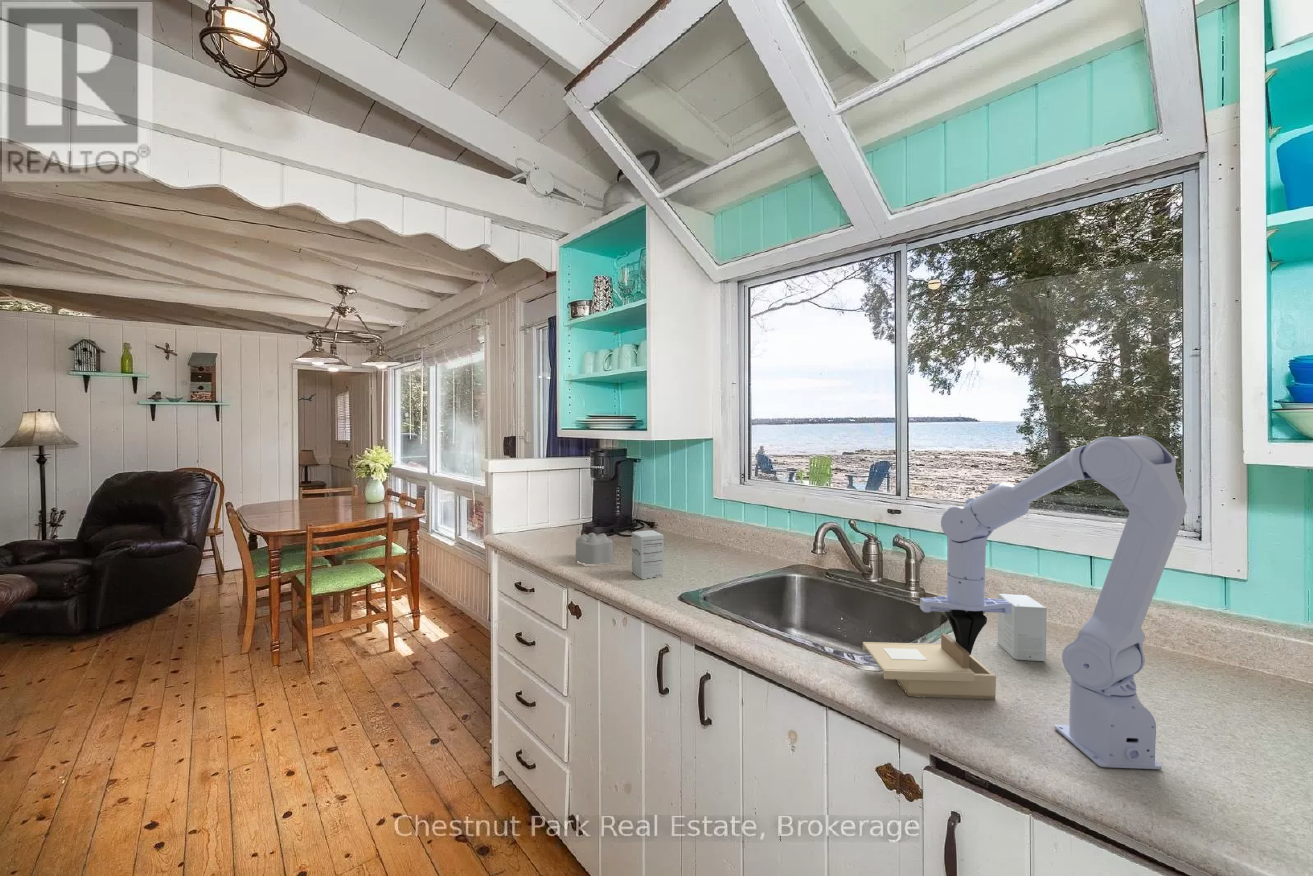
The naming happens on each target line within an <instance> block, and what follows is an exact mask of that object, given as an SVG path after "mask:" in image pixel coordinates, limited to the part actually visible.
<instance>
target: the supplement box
mask: <svg viewBox="0 0 1313 876" xmlns="http://www.w3.org/2000/svg"><path fill="white" fill-rule="evenodd" d="M632 572H633V573H634V574H635V575H634V574H633V575H634V576H636V575H637V576H638V577H637V576H636V577H637V578H639V577H640V578H641V579H644V578H650V577H659V578H662V577H664V534H662V533H660V532H657V531H656V530H653V529H648V530H639V531H632V532H631V573H632ZM640 578H639V579H640ZM641 579H640V580H641ZM644 580H645V579H644Z"/></svg>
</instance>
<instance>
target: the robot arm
mask: <svg viewBox="0 0 1313 876" xmlns="http://www.w3.org/2000/svg"><path fill="white" fill-rule="evenodd" d="M1176 462H1177V460H1176V457H1175V456H1173V454H1172V453H1170V452H1169V450H1168V449H1167V448H1166V447H1165V446H1163V445H1162V443H1161V442H1159V441H1157V440H1156V439H1155V438H1153V437H1149V436H1147V435H1141V434H1140V435H1130V436H1129V435H1128V436H1118V437H1117V436H1101V437H1098V438H1095V439H1093V440H1092V441H1091V442H1089V443H1088V444H1085V445H1081V446H1078V447H1076V448H1074V449H1072V450H1070V451H1069V452H1067V453H1065V454H1064V455H1062V456H1061V457H1059V458H1057V459H1056V460H1054V461H1053V462H1051V463H1049V464H1048V465H1046V466H1044V467H1042V468H1041V469H1040V470H1038V471H1036V472H1034V473H1033V474H1032V475H1030V476H1028V477H1026V478H1025V479H1023V480H1022V481H1019V482H1018V483H1016V484H1013V483H1008V482H1002V483H997V482H996V483H992V484H990V485H989V486H987V489H988V491H986V492H984V493H983V494H980V495H979V496H977V497H976V498H973V497H970V498H968V499H965V501H964V503H965V504H964V506H952V507H948V509H947V510H946V511H945V512H943V515H942V516H941V519H940V526H941V529H942V532H943V533H944V535H945V536H946V537H947V562H946V563H947V567H946V569H947V570H946V571H947V572H946V595H942V596H941V595H940V596H934V597H933V596H932V597H920V598H919V609H920V610H921V611H922V612H923V613H931V612H943V613H944V614H945V616H946V618H947V619H948V622H949V625H950V626H951V629H952V631H953V635H954V640H955V641H956V642H957V643H958V644H959V645H961V646H962V647H963V648H964V649H965V650H967V651H968V652H969V655H972V652H973V648H974V645H975V642H976V640H977V638H978V635H979V634H980V633H981V631H982V629H983V628H984V627H985V626H986V625H987V621H988V617H987V616H986V615H984V613H994V614H995V613H997V614H998V613H1004V614H1012V603H1010V602H1009V601H1007V600H1003V599H998V598H992V597H991V598H988V597H986V596H985V595H986V593H985V591H986V589H985V588H986V551H987V549H986V548H987V547H986V546H987V543H988V542H987V541H988V538H989V537H990V536H991V535H992V533H993V532H994V531H995V530H996V529H999V528H1001V527H1002V526H1005V525H1007V524H1008V523H1011V522H1013V521H1014V520H1017V519H1019V518H1020V517H1023V516H1025V515H1027V514H1028V513H1029V509H1030V505H1031V503H1032V502H1034V501H1036V500H1038V499H1040V498H1042V497H1044V496H1046V495H1049V494H1050V493H1053V492H1055V491H1057V490H1060V489H1062V488H1063V487H1065V486H1068V485H1070V484H1072V483H1074V482H1076V481H1086V480H1088V481H1089V480H1094V481H1095V482H1097V483H1098V484H1099V485H1101V486H1103V487H1104V488H1106V489H1107V490H1109V491H1110V492H1111V493H1113V494H1115V495H1116V497H1117V498H1118V499H1119V500H1120V501H1121V503H1122V504H1123V505H1124V506H1125V507H1126V509H1127V510H1128V512H1129V513H1128V515H1127V519H1126V522H1125V524H1124V527H1123V530H1122V533H1121V536H1120V537H1119V542H1118V544H1117V546H1116V549H1115V551H1114V552H1115V553H1114V555H1113V557H1112V561H1111V563H1110V566H1109V569H1108V571H1107V574H1106V577H1105V580H1104V582H1103V585H1102V588H1101V591H1100V594H1099V596H1098V599H1097V602H1096V605H1095V607H1094V610H1093V613H1092V615H1091V616H1090V618H1088V620H1086V622H1085V623H1084V624H1083V626H1082V627H1080V630H1079V631H1078V635H1077V637H1076V638H1075V639H1074V640H1073V641H1072V642H1070V643H1068V644H1067V645H1066V646H1065V647H1064V649H1063V651H1062V655H1061V658H1062V659H1061V660H1062V664H1063V667H1064V669H1065V671H1066V672H1067V674H1068V675H1069V677H1070V681H1069V682H1070V685H1069V717H1068V718H1069V719H1068V721H1069V722H1068V724H1056V723H1055V724H1054V726H1053V727H1054V729H1055V730H1056V731H1058V732H1059V733H1060V734H1061V735H1062V736H1063V737H1064V738H1065V739H1066V740H1068V741H1069V742H1070V743H1071V744H1073V745H1074V746H1075V747H1076V748H1077V749H1078V750H1080V752H1082V753H1083V754H1084V755H1085V756H1087V758H1089V759H1090V760H1091V761H1092V762H1094V763H1095V764H1096V765H1097V766H1099V767H1102V768H1116V769H1117V768H1118V769H1121V768H1122V769H1140V770H1141V769H1143V770H1144V769H1145V770H1146V769H1147V770H1162V765H1161V763H1159V762H1158V761H1157V760H1156V738H1157V735H1156V734H1157V723H1156V719H1155V717H1154V715H1153V714H1152V712H1151V711H1149V710H1148V708H1146V707H1145V706H1144V705H1143V704H1142V703H1141V701H1140V699H1139V697H1138V695H1137V684H1136V681H1135V676H1134V675H1136V674H1139V673H1140V672H1141V671H1142V670H1143V669H1144V666H1145V664H1146V663H1145V662H1146V659H1145V658H1146V657H1145V653H1144V648H1143V645H1144V641H1145V640H1146V639H1145V638H1146V634H1145V632H1144V631H1143V629H1142V625H1143V623H1144V621H1145V618H1146V616H1147V614H1148V611H1149V608H1150V607H1151V606H1150V605H1151V604H1152V603H1151V602H1152V601H1153V598H1154V595H1155V592H1156V590H1157V589H1158V585H1159V583H1160V579H1161V578H1162V575H1163V572H1164V569H1165V567H1166V565H1167V563H1168V559H1169V557H1170V555H1171V551H1172V549H1173V546H1174V544H1175V541H1176V538H1177V536H1178V534H1179V531H1180V528H1181V526H1182V524H1183V521H1184V518H1185V515H1186V513H1187V507H1188V505H1187V502H1186V499H1185V495H1184V493H1183V490H1182V487H1181V483H1180V481H1179V477H1178V475H1177V472H1176V465H1177V463H1176Z"/></svg>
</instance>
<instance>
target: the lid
mask: <svg viewBox="0 0 1313 876" xmlns="http://www.w3.org/2000/svg"><path fill="white" fill-rule="evenodd" d="M940 637H941V638H940V642H941V643H922V642H921V643H919V642H918V643H915V642H913V643H912V642H882V641H881V642H880V641H879V642H876V641H875V642H874V641H863V642H862V651H867V652H868V653H869V655H870V656H871V657H872V658H873V660H874V661H875V662H876V664H877V665H878V666H879V667H880V669H881V670H882V671H883V680H895V679H902V680H937V681H973V682H974V675H975V673H974V672H973V671H972V670H970V669H969V652H968V651H967V650H965V649H964V648H963V647H962V646H961V645H959V644H958V643H957V642H956V639H955V638H952V637H951V636H950V635H949V634H948V633H941V635H940Z"/></svg>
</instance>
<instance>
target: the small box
mask: <svg viewBox="0 0 1313 876" xmlns="http://www.w3.org/2000/svg"><path fill="white" fill-rule="evenodd" d="M997 599H1003V600H1007V601H1009V602H1010V603H1012V614H1004V613H997V644H998V645H999V646H1000V647H1001V648H1002V649H1003V650H1004V651H1005V652H1006V653H1007V654H1008V655H1009V656H1010V657H1012V659H1014V660H1016V661H1017V660H1018V661H1035V662H1047V609H1048V608H1047V607H1046V606H1045V605H1043V604H1041V603H1040V602H1038V601H1037V600H1035V599H1034V598H1032V597H1031V596H1029V595H1028V594H1012V593H1011V594H1009V593H998V595H997Z"/></svg>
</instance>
